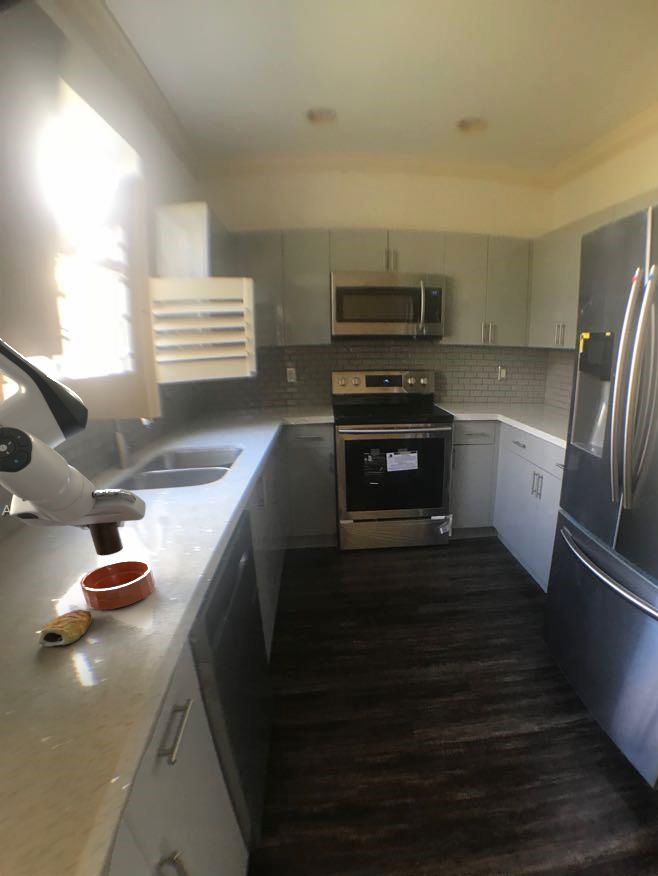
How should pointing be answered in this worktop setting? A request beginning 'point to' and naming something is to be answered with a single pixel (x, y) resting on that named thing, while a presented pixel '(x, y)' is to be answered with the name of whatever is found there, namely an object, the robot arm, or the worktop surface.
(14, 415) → the robot arm
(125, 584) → the bowl
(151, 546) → the worktop surface
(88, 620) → the pastry
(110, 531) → the pepper mill
